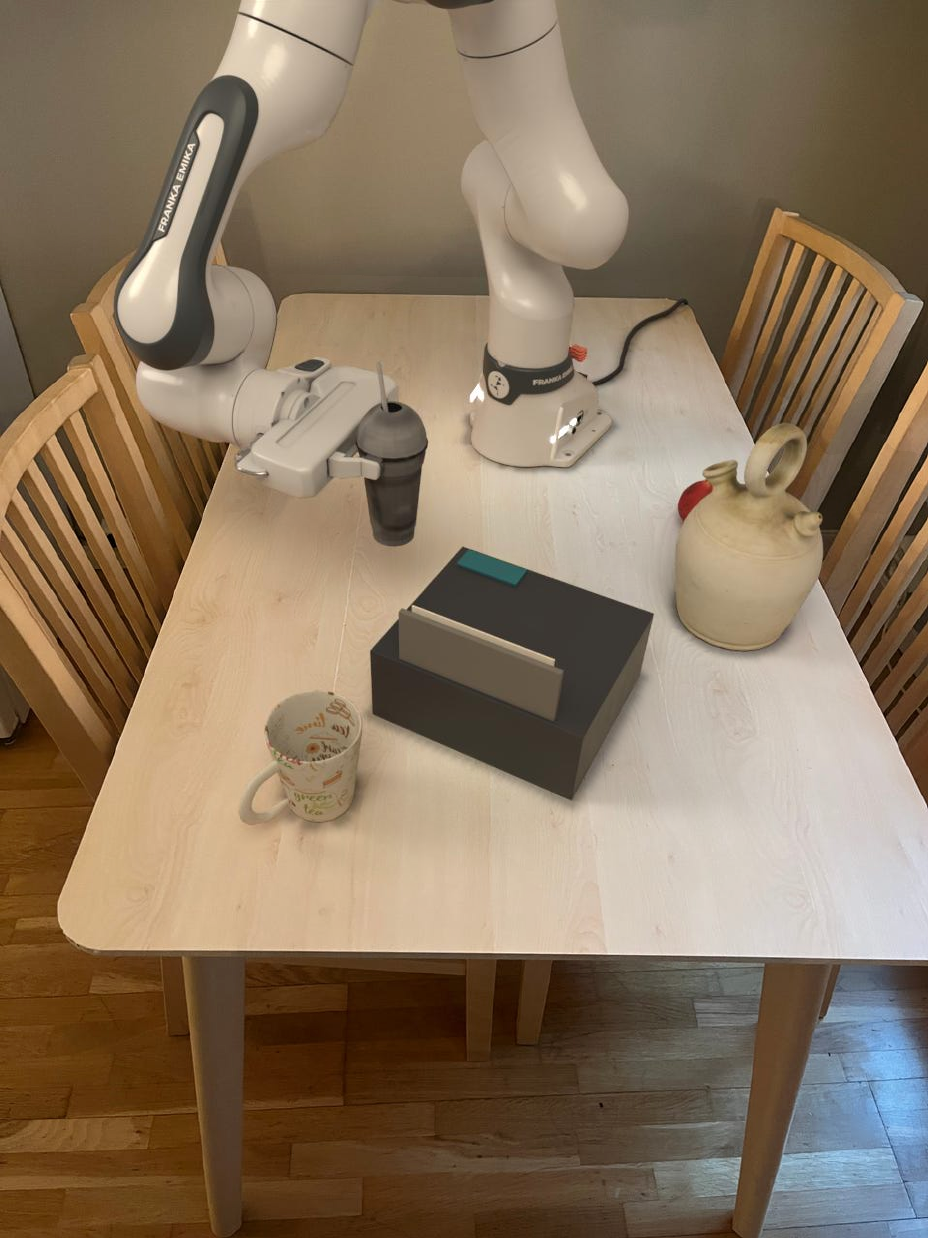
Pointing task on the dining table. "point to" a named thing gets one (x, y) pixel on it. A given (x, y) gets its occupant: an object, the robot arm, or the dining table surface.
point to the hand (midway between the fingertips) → (400, 448)
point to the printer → (510, 668)
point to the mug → (309, 757)
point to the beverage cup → (393, 467)
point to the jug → (749, 549)
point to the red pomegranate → (693, 497)
